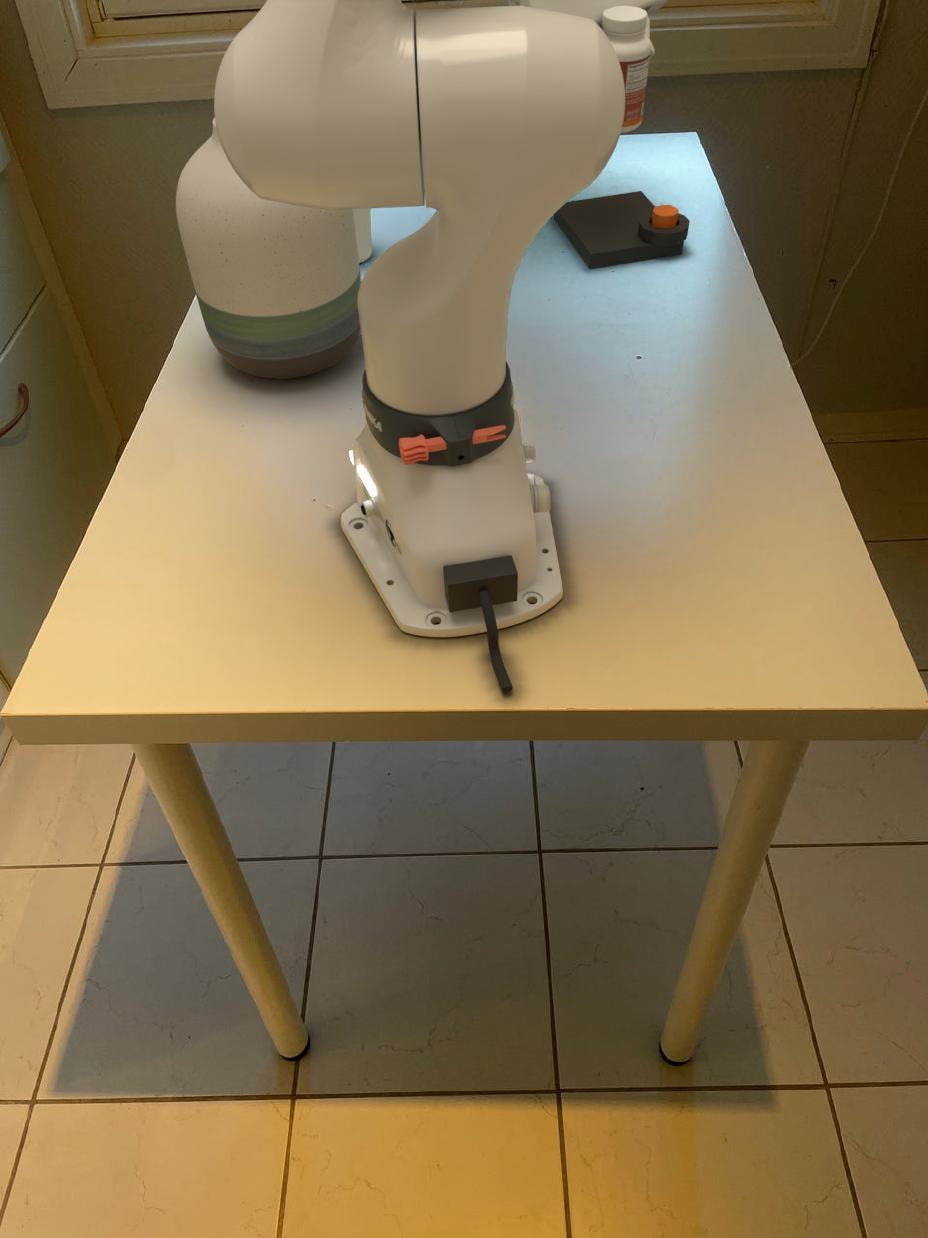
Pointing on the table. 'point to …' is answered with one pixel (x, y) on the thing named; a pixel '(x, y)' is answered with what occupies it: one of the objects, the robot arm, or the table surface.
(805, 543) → the table surface
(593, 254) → the scale
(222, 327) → the vase
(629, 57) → the pill bottle
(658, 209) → the button
